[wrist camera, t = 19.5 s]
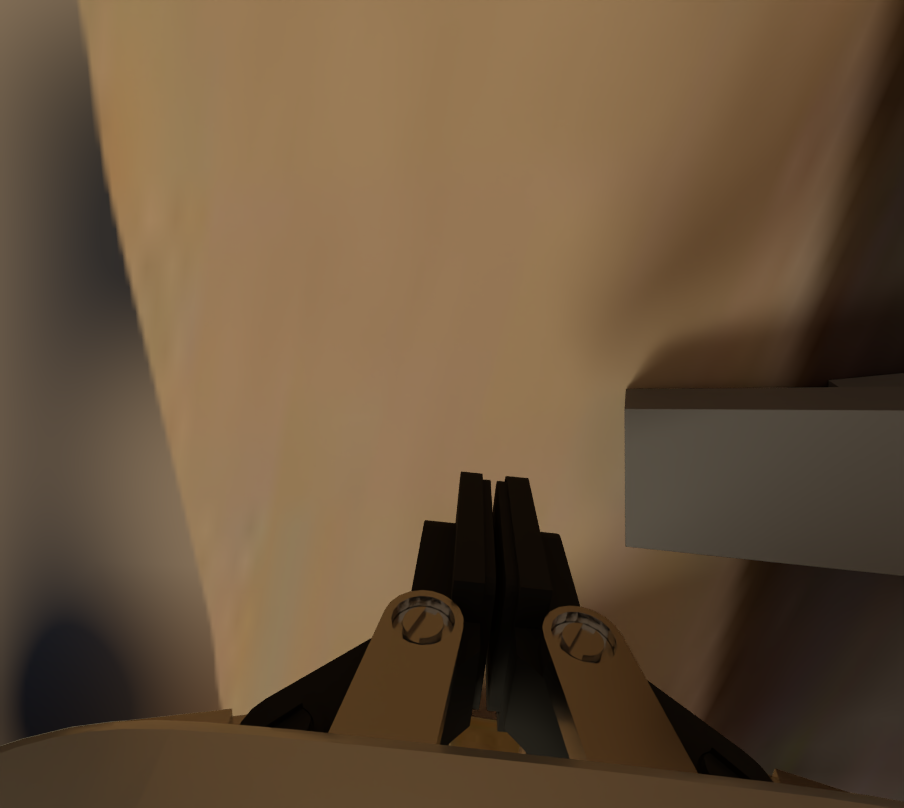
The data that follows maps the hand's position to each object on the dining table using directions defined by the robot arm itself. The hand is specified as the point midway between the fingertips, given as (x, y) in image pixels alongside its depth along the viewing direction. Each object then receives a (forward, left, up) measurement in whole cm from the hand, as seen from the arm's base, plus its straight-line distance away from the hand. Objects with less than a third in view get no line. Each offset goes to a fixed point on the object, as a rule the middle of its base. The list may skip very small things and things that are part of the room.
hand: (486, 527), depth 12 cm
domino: (0, -5, -5) cm, 7 cm away
